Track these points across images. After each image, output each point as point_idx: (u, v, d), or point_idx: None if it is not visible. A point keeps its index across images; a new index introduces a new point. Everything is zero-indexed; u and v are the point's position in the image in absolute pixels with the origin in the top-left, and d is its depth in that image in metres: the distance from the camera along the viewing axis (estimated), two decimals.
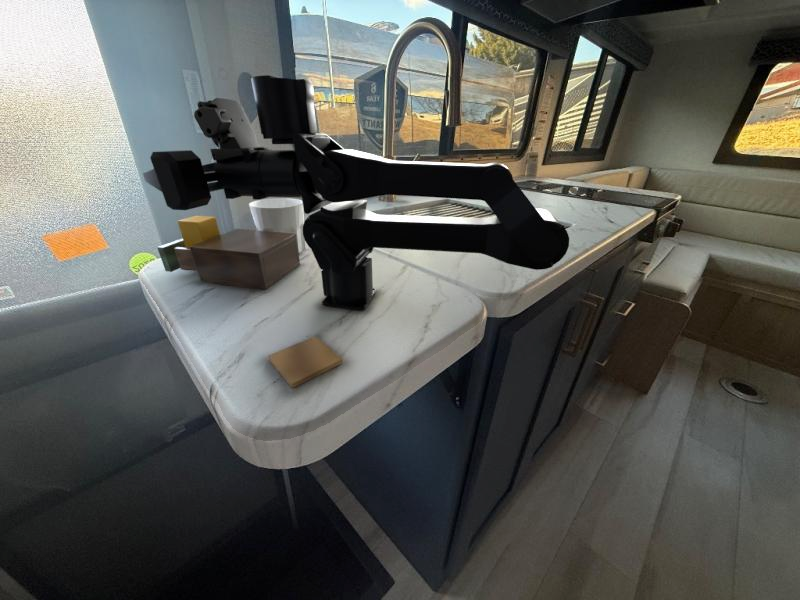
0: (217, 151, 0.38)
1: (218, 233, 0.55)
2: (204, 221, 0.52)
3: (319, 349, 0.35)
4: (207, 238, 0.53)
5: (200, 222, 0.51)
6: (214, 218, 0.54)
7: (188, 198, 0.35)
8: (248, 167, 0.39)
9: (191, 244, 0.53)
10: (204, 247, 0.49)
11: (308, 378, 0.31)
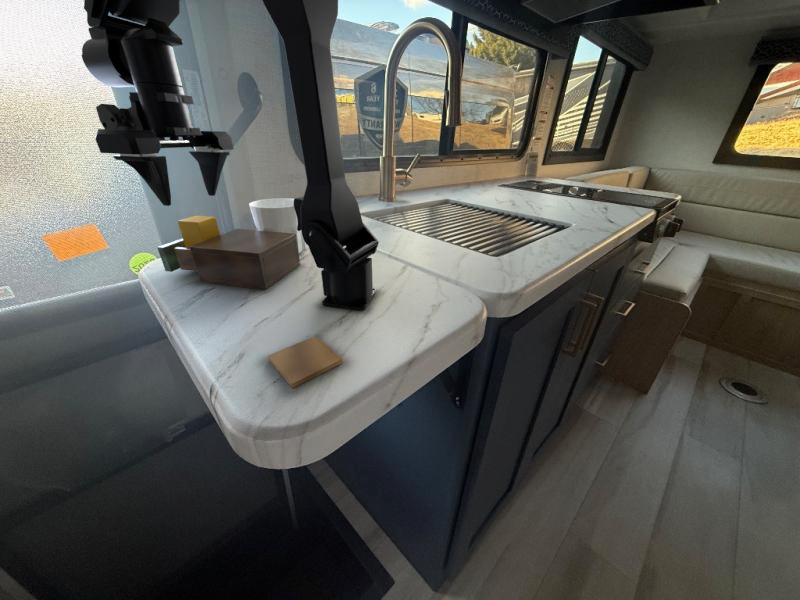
0: (136, 126, 0.44)
1: (218, 233, 0.55)
2: (204, 221, 0.52)
3: (319, 349, 0.35)
4: (207, 238, 0.53)
5: (200, 222, 0.51)
6: (214, 218, 0.54)
7: (123, 129, 0.39)
8: (139, 96, 0.43)
9: (191, 244, 0.53)
10: (204, 247, 0.49)
11: (308, 378, 0.31)
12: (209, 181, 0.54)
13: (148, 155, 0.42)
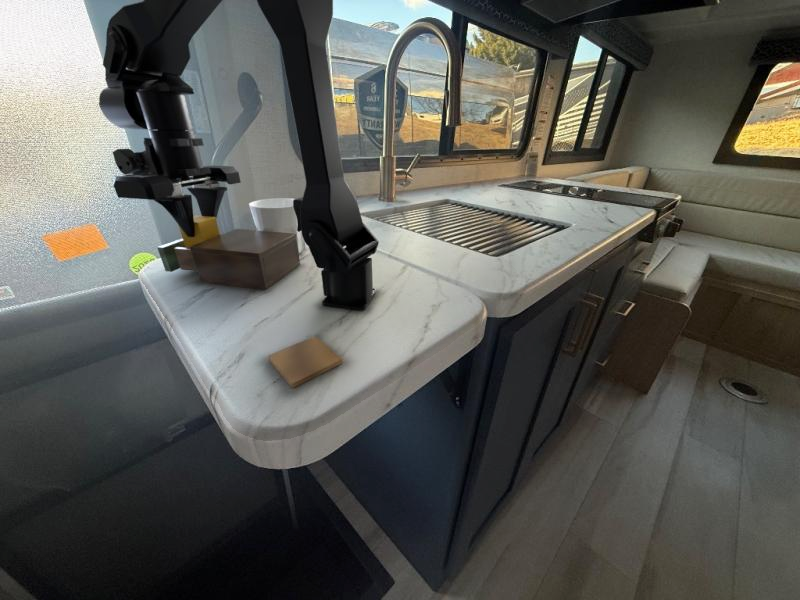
0: (150, 168, 0.47)
1: (218, 233, 0.55)
2: (204, 221, 0.52)
3: (319, 349, 0.35)
4: (207, 238, 0.53)
5: (200, 222, 0.51)
6: (214, 218, 0.54)
7: (140, 177, 0.41)
8: (153, 141, 0.45)
9: (191, 244, 0.53)
10: (204, 247, 0.49)
11: (308, 378, 0.31)
12: None
13: (176, 195, 0.46)
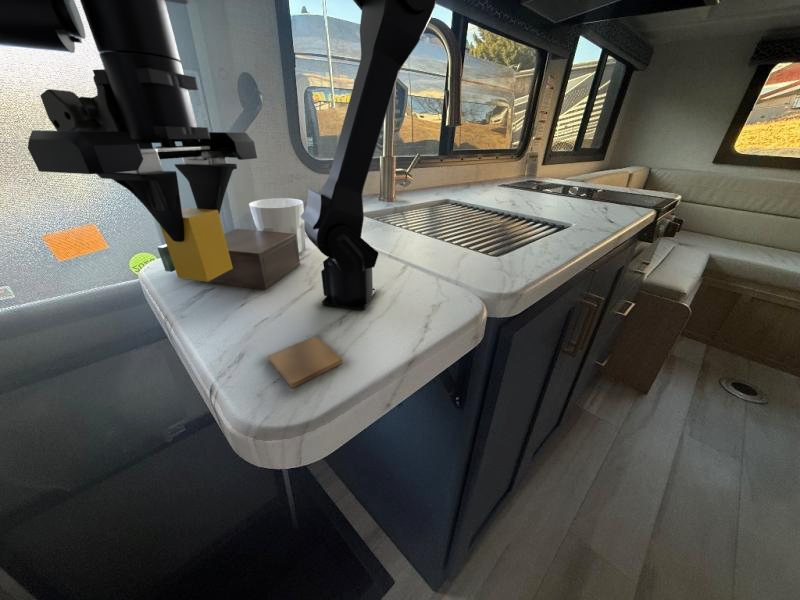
0: (107, 126, 0.28)
1: (222, 235, 0.36)
2: (199, 216, 0.32)
3: (319, 349, 0.35)
4: (204, 243, 0.33)
5: (192, 218, 0.32)
6: (215, 212, 0.34)
7: (73, 131, 0.22)
8: (108, 75, 0.26)
9: (180, 253, 0.33)
10: None
11: (308, 378, 0.31)
12: None
13: (149, 171, 0.27)
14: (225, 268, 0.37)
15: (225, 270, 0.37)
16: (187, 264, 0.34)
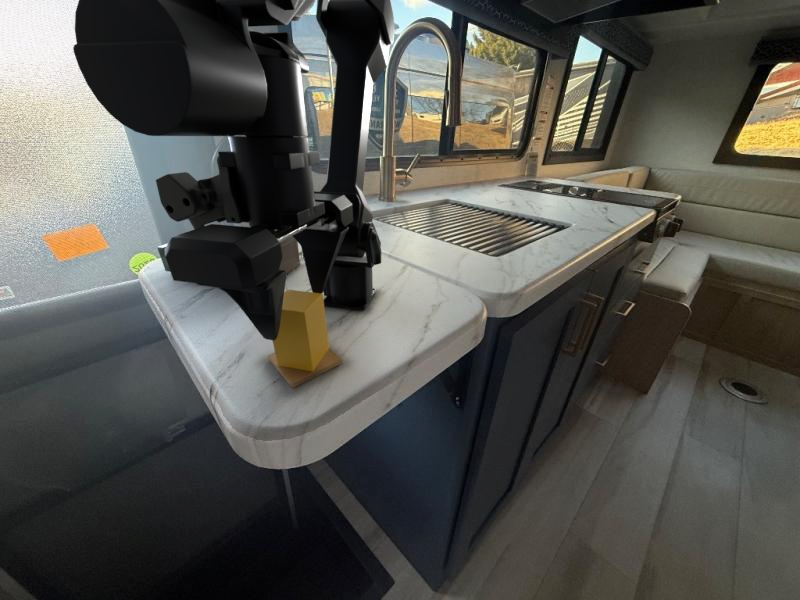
0: (226, 210, 0.24)
1: (324, 318, 0.33)
2: (311, 307, 0.30)
3: None
4: (313, 333, 0.31)
5: (307, 310, 0.29)
6: (321, 296, 0.32)
7: (227, 242, 0.19)
8: (239, 159, 0.22)
9: (286, 343, 0.31)
10: None
11: (308, 378, 0.31)
12: (317, 274, 0.34)
13: None
14: (324, 351, 0.34)
15: (324, 353, 0.34)
16: (292, 354, 0.31)
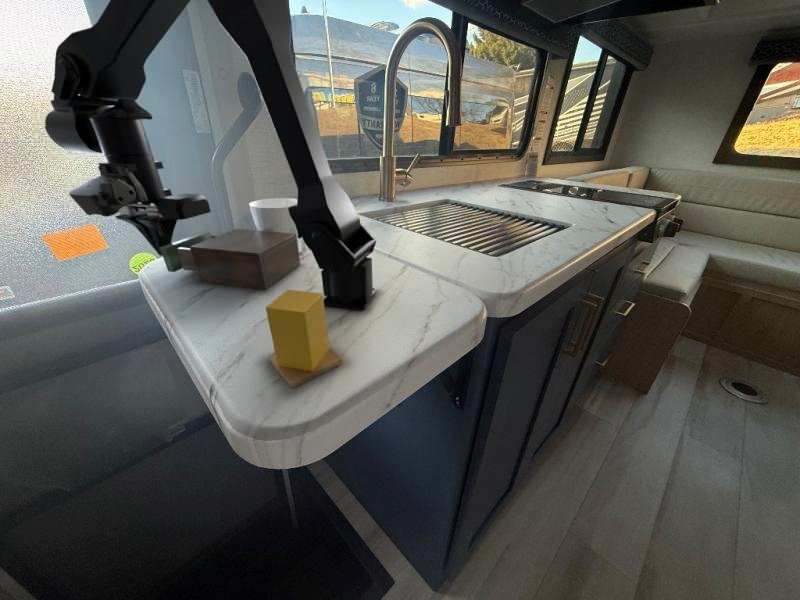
0: (139, 195, 0.45)
1: (324, 318, 0.33)
2: (311, 307, 0.30)
3: None
4: (313, 333, 0.31)
5: (307, 310, 0.29)
6: (321, 296, 0.32)
7: (199, 195, 0.49)
8: (140, 166, 0.45)
9: (286, 343, 0.31)
10: (204, 247, 0.49)
11: (308, 378, 0.31)
12: None
13: None
14: (324, 351, 0.34)
15: (324, 353, 0.34)
16: (292, 354, 0.31)
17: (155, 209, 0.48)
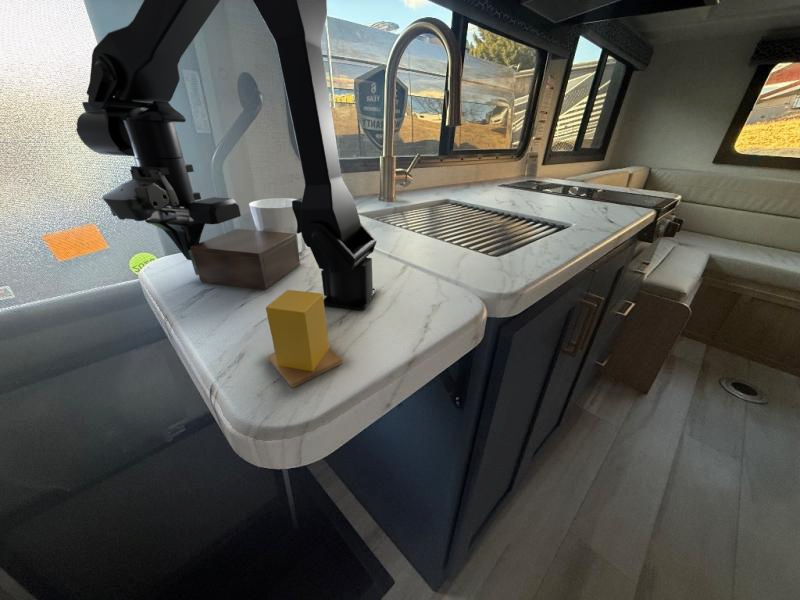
0: (171, 199, 0.45)
1: (324, 318, 0.33)
2: (311, 307, 0.30)
3: None
4: (313, 333, 0.31)
5: (307, 310, 0.29)
6: (321, 296, 0.32)
7: (230, 198, 0.48)
8: (172, 170, 0.45)
9: (286, 343, 0.31)
10: (204, 247, 0.49)
11: (308, 378, 0.31)
12: None
13: None
14: (324, 351, 0.34)
15: (324, 353, 0.34)
16: (292, 354, 0.31)
17: (185, 213, 0.47)
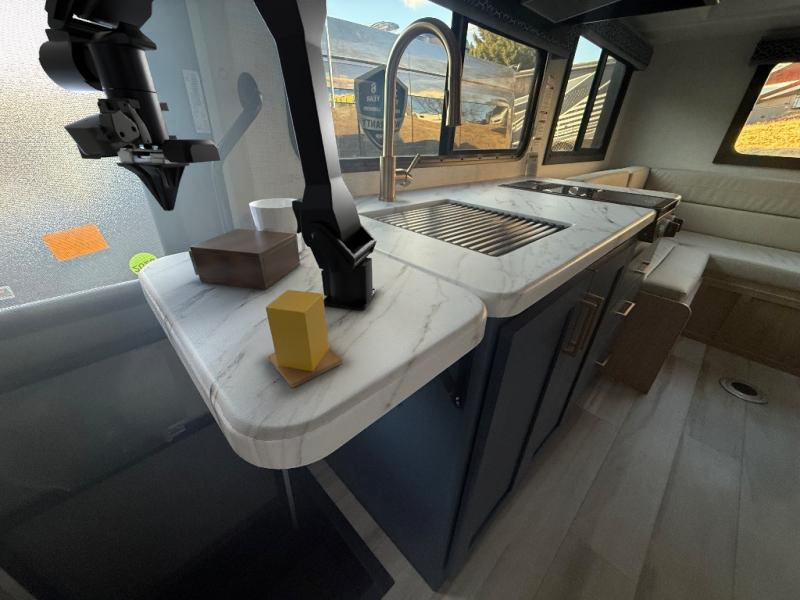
0: (143, 135, 0.41)
1: (324, 318, 0.33)
2: (311, 307, 0.30)
3: None
4: (313, 333, 0.31)
5: (307, 310, 0.29)
6: (321, 296, 0.32)
7: None
8: (144, 104, 0.41)
9: (286, 343, 0.31)
10: (204, 247, 0.49)
11: (308, 378, 0.31)
12: None
13: None
14: (324, 351, 0.34)
15: (324, 353, 0.34)
16: (292, 354, 0.31)
17: (160, 155, 0.44)
